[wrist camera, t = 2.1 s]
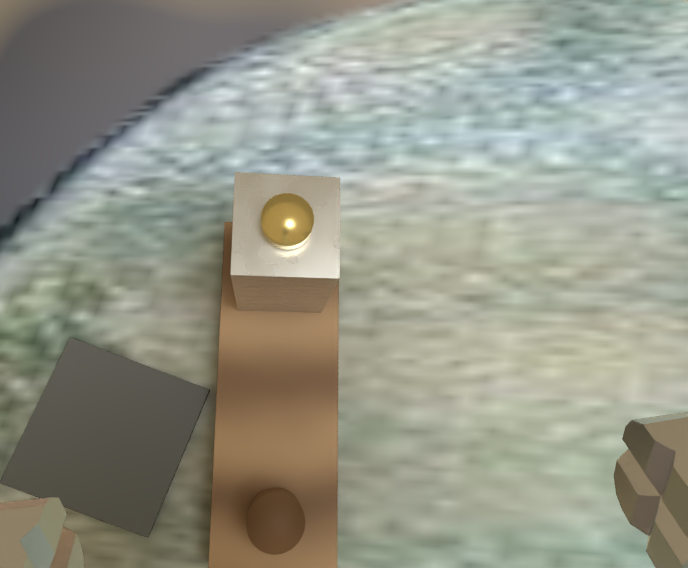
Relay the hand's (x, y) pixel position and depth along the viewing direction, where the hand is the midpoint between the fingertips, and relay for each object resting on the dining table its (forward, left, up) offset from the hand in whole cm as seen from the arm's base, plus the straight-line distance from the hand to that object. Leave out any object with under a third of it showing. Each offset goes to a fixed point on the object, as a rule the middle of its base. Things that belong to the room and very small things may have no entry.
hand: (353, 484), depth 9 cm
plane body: (+3, +2, -31) cm, 31 cm away
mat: (-3, +10, -31) cm, 33 cm away
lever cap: (+9, +4, -28) cm, 30 cm away
